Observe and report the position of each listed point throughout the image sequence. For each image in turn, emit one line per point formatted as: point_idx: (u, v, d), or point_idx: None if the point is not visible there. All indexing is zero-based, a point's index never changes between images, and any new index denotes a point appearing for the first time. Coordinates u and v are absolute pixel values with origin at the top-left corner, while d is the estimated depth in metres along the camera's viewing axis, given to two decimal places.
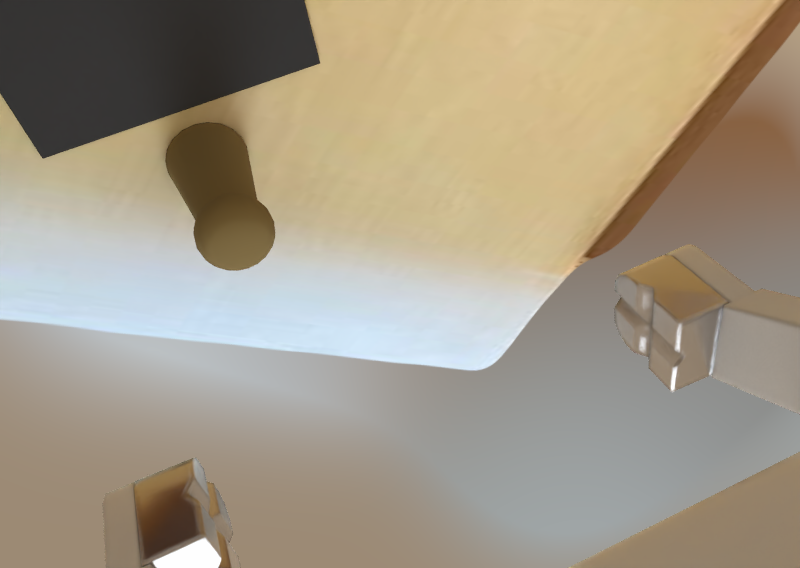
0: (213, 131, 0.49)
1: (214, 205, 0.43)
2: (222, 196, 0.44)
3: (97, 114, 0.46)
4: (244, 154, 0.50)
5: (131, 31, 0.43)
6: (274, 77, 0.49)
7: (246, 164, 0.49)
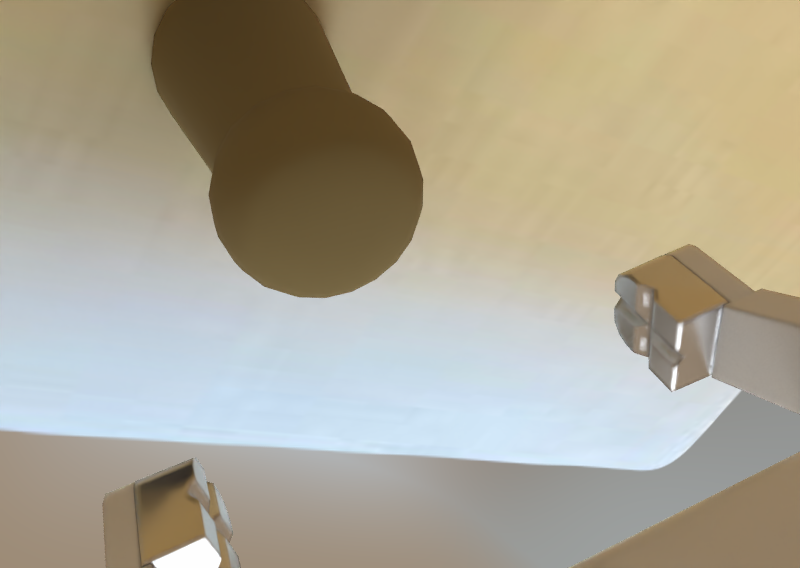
0: None
1: (267, 109, 0.15)
2: (288, 91, 0.16)
3: None
4: (327, 41, 0.22)
5: None
6: None
7: (334, 56, 0.21)
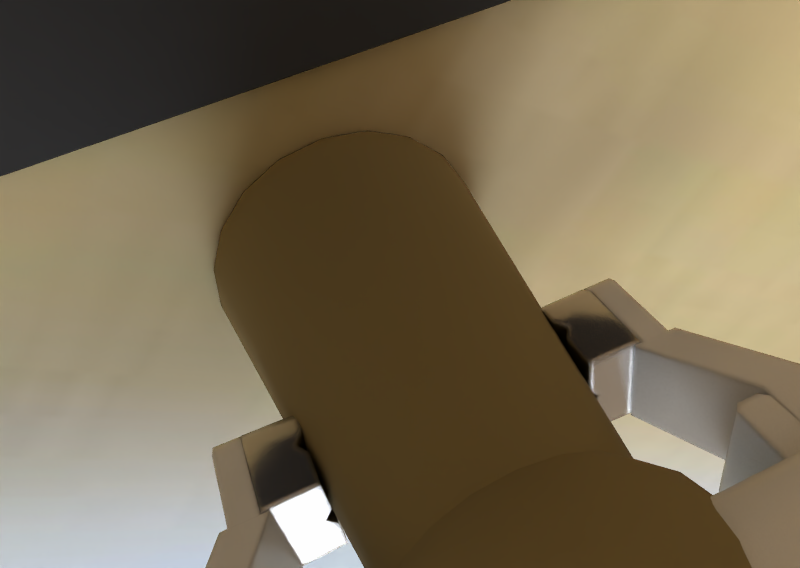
0: (393, 160, 0.13)
1: None
2: (555, 499, 0.08)
3: None
4: (499, 241, 0.14)
5: None
6: None
7: (522, 280, 0.13)
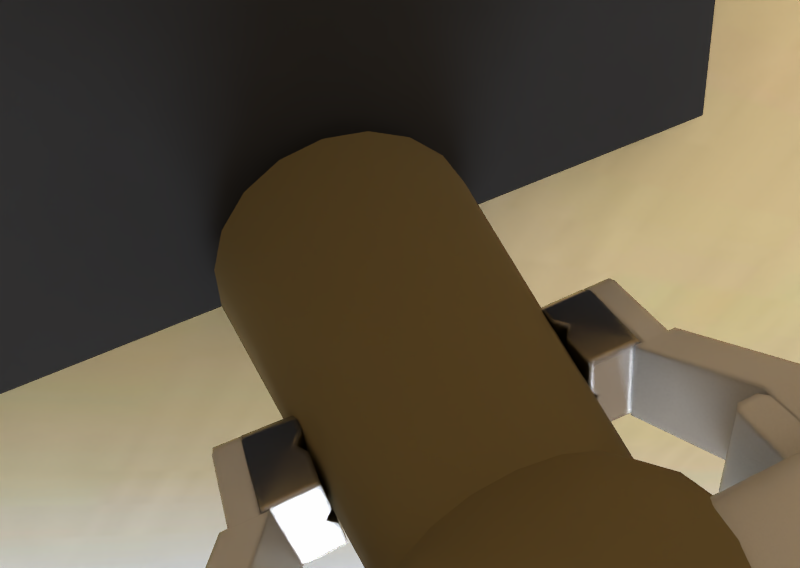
0: (393, 160, 0.13)
1: None
2: (555, 499, 0.08)
3: (78, 291, 0.14)
4: (499, 241, 0.14)
5: (197, 12, 0.12)
6: (586, 157, 0.17)
7: (523, 280, 0.13)
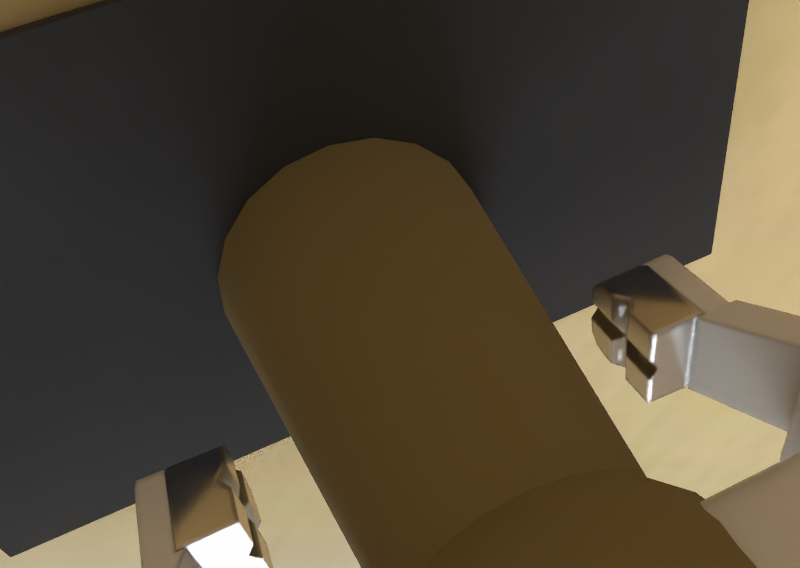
0: (400, 167, 0.13)
1: None
2: (569, 523, 0.07)
3: (163, 439, 0.16)
4: (507, 250, 0.14)
5: None
6: None
7: (531, 290, 0.13)
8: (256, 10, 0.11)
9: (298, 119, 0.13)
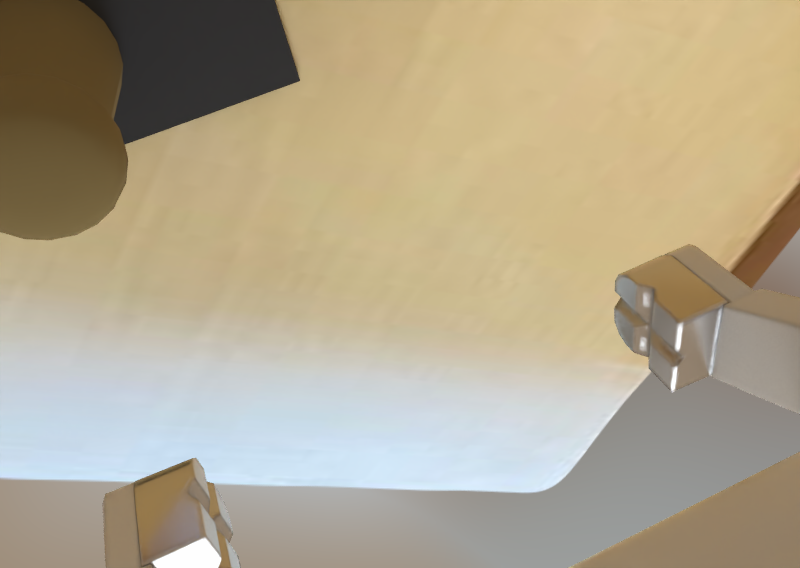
0: None
1: None
2: (0, 76, 0.21)
3: None
4: (98, 40, 0.27)
5: None
6: (230, 103, 0.32)
7: (96, 53, 0.26)
8: None
9: None
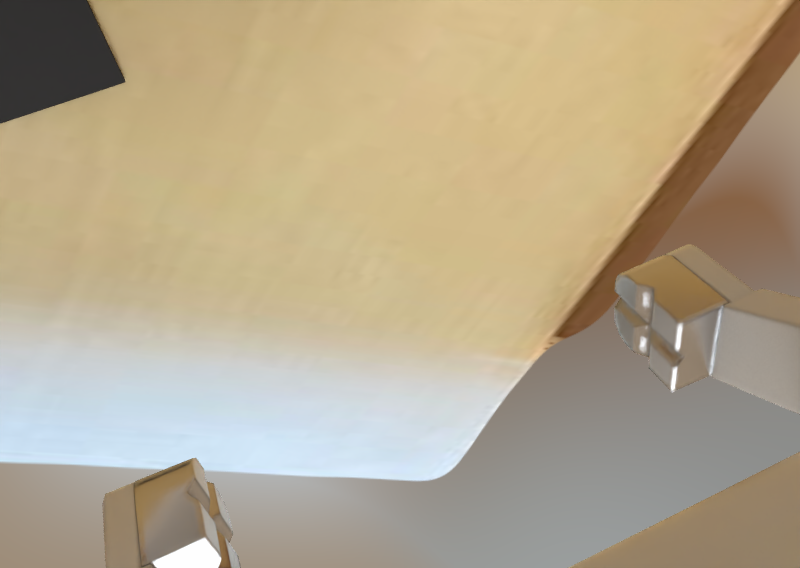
0: None
1: None
2: None
3: None
4: None
5: None
6: (56, 102, 0.34)
7: None
8: None
9: None
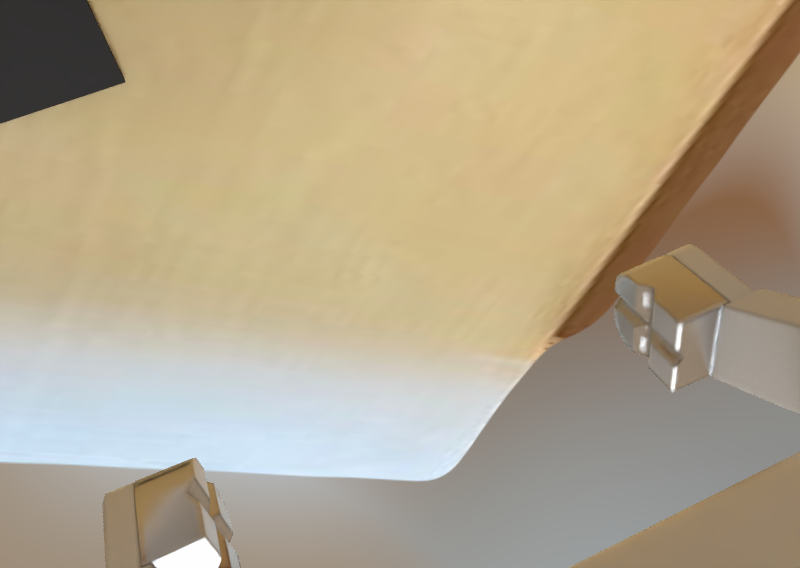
0: None
1: None
2: None
3: None
4: None
5: None
6: (56, 102, 0.34)
7: None
8: None
9: None
